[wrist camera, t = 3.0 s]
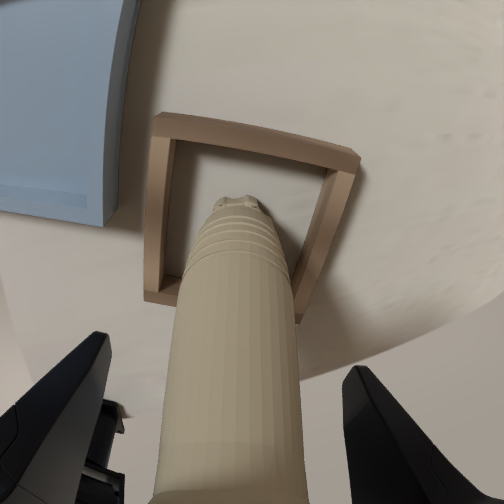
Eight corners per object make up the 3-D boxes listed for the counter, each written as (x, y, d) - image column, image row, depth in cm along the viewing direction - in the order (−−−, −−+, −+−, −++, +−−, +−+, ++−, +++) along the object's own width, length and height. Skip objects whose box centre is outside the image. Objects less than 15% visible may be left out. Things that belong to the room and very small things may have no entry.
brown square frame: (296, 306, 19) (299, 324, 18) (149, 283, 18) (143, 301, 17) (350, 148, 14) (361, 157, 13) (162, 111, 13) (153, 117, 12)
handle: (199, 277, 18) (160, 580, 5) (180, 163, 14) (20, 563, 2) (288, 272, 18) (331, 581, 5) (287, 155, 14) (414, 593, 1)
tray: (117, 208, 15) (103, 227, 14) (-34, 187, 14) (-53, 201, 12) (152, -44, 9) (139, -57, 7) (-27, -7, 7) (-49, -7, 6)
